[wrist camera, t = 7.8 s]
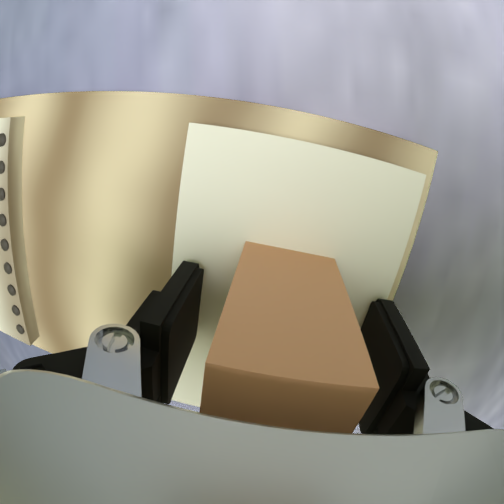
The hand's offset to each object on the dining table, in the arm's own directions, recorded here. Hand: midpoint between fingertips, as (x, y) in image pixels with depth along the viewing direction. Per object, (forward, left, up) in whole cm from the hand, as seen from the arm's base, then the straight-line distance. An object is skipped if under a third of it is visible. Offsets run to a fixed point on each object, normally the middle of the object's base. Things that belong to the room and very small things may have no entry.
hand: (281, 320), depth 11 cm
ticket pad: (+11, 0, -3) cm, 11 cm away
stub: (0, 0, -1) cm, 1 cm away
